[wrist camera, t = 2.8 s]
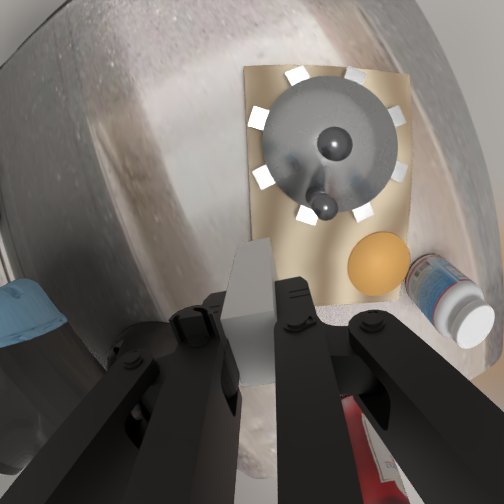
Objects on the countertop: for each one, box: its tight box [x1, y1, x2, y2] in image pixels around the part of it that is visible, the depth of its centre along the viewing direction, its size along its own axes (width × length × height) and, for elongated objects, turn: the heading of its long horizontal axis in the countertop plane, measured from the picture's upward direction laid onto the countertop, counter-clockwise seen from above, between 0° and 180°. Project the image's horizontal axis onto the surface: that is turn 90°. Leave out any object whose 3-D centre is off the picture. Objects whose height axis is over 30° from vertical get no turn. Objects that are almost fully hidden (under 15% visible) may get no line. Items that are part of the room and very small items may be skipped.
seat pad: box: [348, 232, 410, 296], centre depth 30 cm, size 7×7×1 cm
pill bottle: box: [406, 255, 495, 349], centre depth 27 cm, size 6×6×11 cm
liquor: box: [341, 395, 410, 504], centre depth 26 cm, size 7×7×28 cm
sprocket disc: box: [248, 65, 408, 225], centre depth 24 cm, size 15×15×6 cm
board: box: [244, 65, 412, 306], centre depth 29 cm, size 16×24×1 cm, turn 3°
